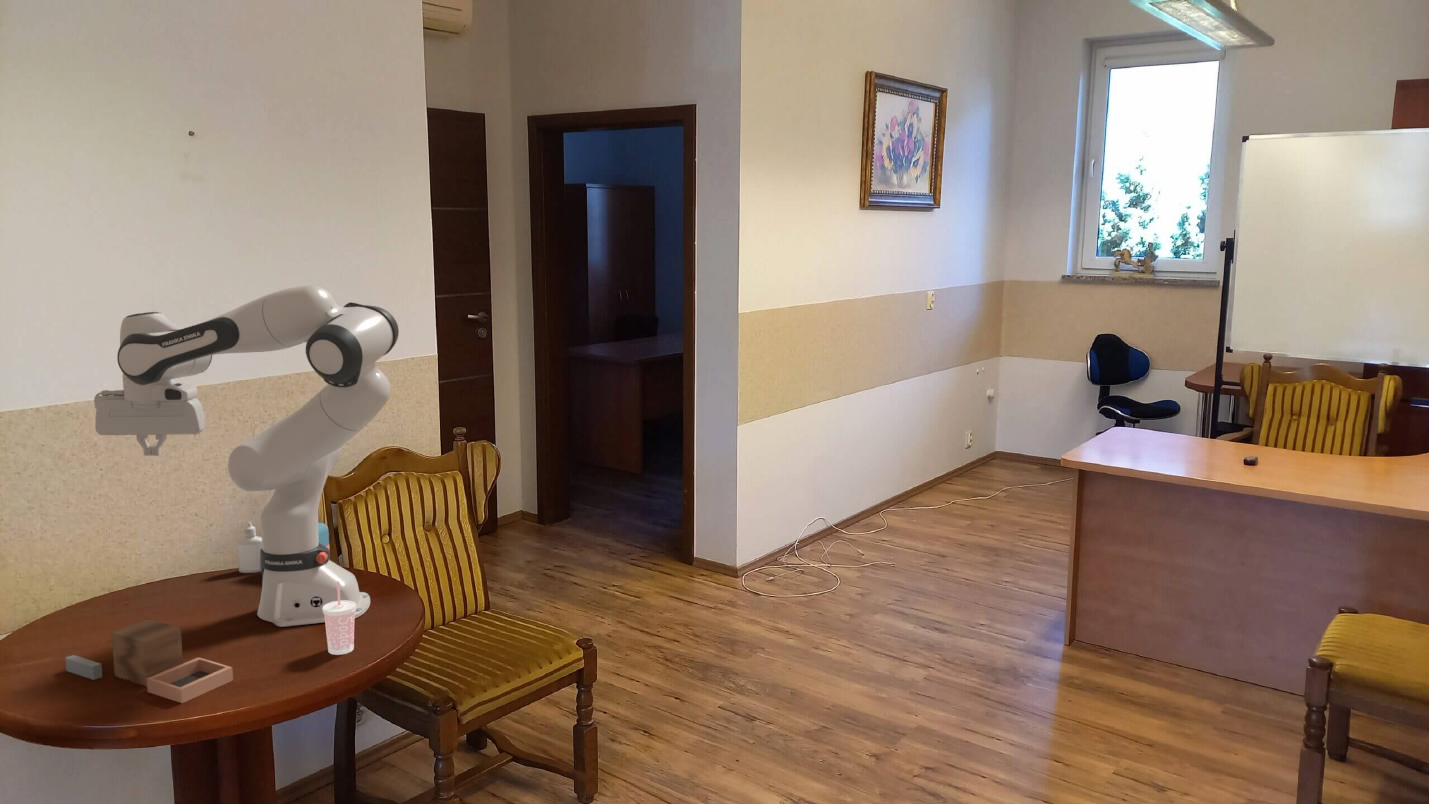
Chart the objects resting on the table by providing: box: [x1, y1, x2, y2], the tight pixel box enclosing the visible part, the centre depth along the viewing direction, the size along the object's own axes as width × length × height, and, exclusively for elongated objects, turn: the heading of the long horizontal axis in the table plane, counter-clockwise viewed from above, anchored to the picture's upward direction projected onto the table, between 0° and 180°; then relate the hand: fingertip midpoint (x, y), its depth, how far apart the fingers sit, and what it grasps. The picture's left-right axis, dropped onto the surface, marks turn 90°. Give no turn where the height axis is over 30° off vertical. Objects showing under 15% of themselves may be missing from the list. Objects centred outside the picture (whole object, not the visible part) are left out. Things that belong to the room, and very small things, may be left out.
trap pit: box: [146, 657, 234, 704], centre depth 172 cm, size 9×10×2 cm
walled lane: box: [64, 654, 103, 681], centre depth 181 cm, size 8×13×2 cm, turn 155°
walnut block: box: [110, 618, 184, 688], centre depth 176 cm, size 9×7×8 cm
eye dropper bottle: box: [237, 521, 262, 574], centre depth 230 cm, size 4×6×12 cm
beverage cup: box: [322, 581, 356, 656], centre depth 187 cm, size 6×6×14 cm
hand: (153, 455), depth 203 cm, fingers closed
